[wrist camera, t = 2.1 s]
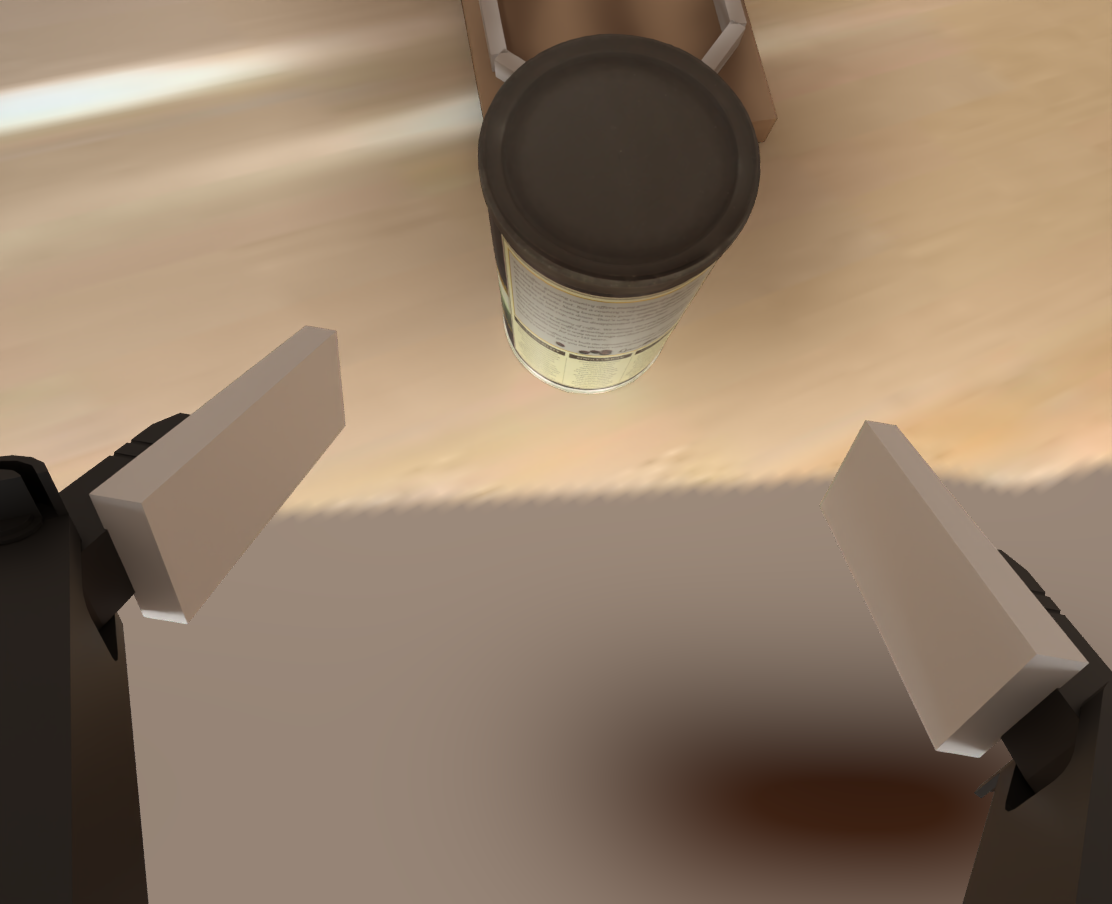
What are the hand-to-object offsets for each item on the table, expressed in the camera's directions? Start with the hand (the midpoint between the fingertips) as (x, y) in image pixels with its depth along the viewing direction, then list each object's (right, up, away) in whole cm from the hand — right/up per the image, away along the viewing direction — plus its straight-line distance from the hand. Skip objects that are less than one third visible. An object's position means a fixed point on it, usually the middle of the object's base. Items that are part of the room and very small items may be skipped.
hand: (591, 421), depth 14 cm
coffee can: (+1, +8, +20) cm, 21 cm away
